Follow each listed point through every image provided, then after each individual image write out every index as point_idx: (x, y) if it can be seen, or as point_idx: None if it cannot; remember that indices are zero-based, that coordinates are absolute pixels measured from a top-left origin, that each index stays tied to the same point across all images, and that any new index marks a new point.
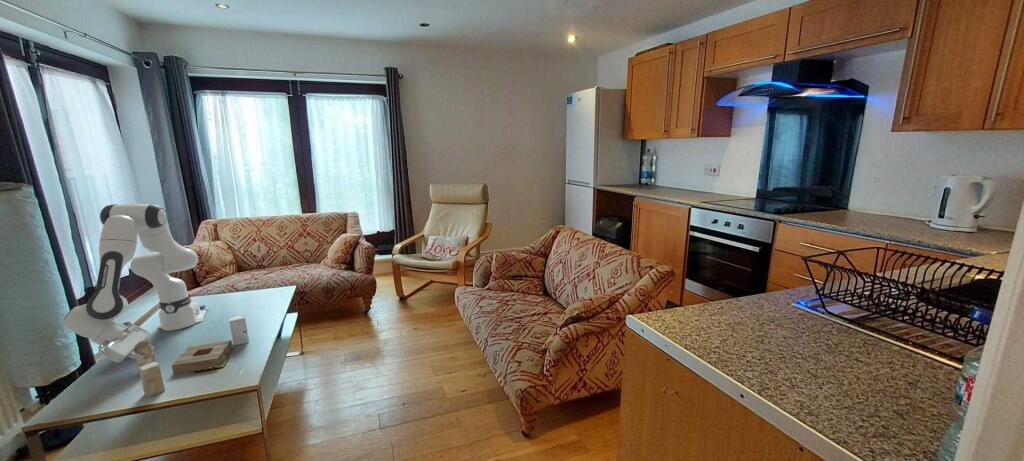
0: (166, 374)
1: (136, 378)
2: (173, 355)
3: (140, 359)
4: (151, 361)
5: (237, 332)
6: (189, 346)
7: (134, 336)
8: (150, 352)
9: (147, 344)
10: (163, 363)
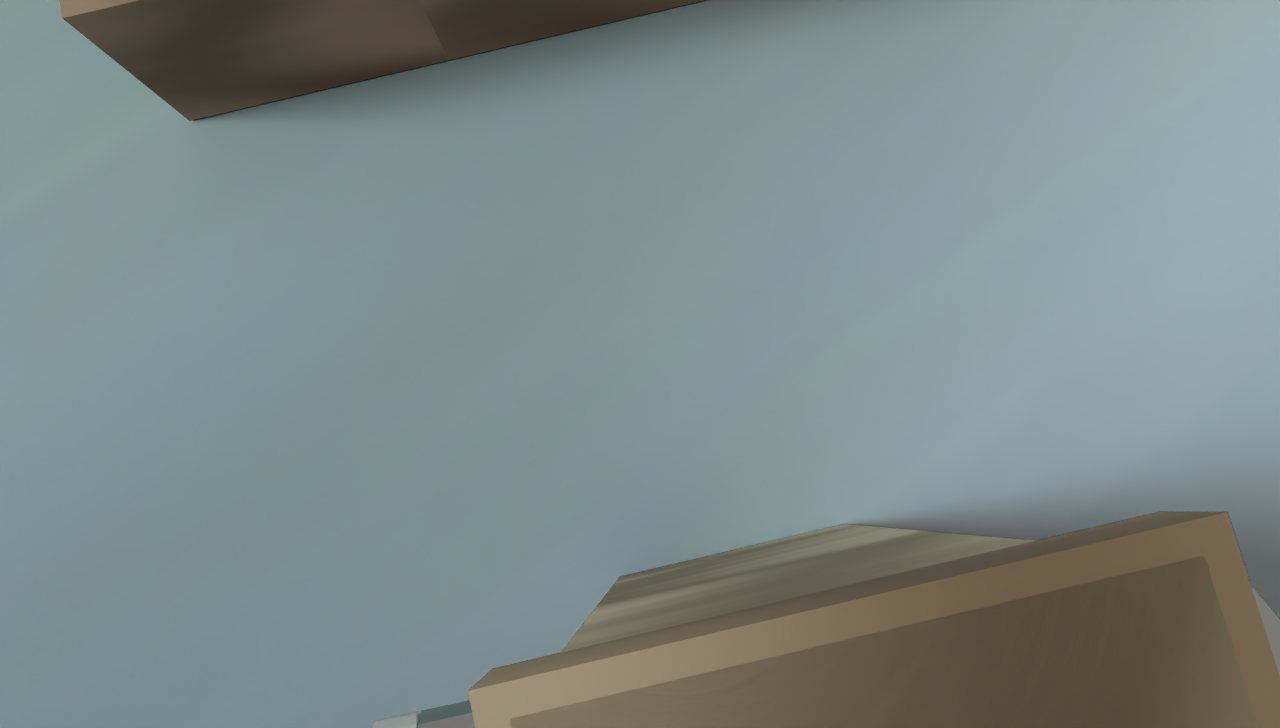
0: (1010, 82)
1: None
2: (148, 536)
3: None
4: (795, 549)
5: None
6: (76, 6)
7: None
8: (753, 586)
9: (948, 562)
10: (513, 505)
